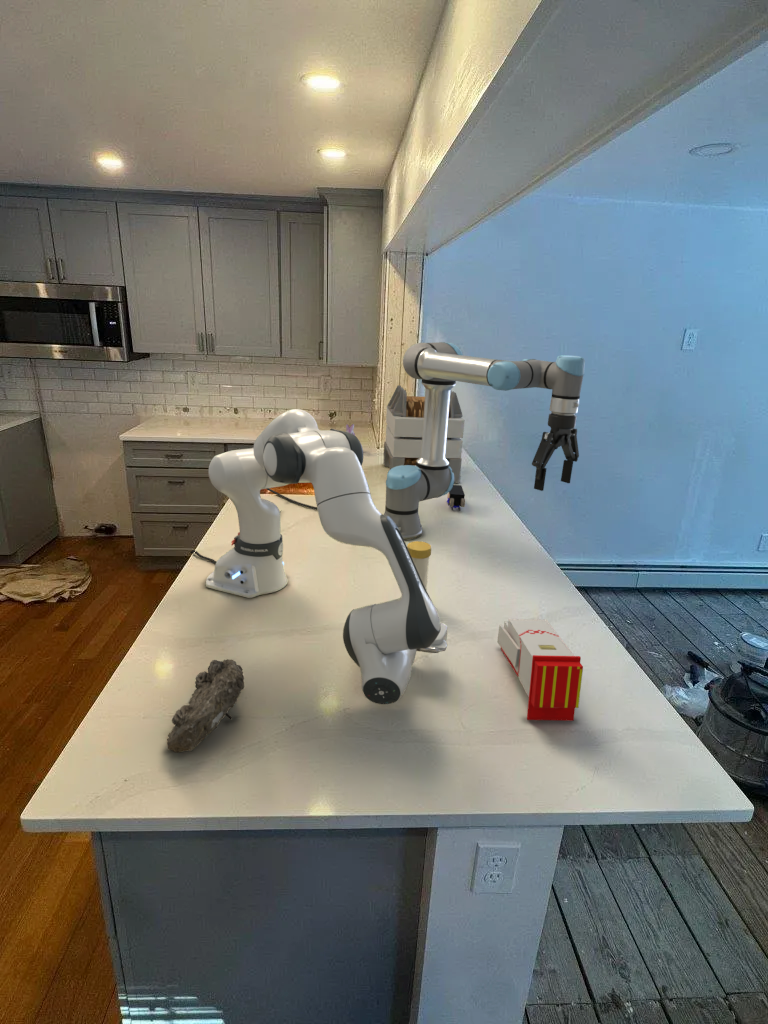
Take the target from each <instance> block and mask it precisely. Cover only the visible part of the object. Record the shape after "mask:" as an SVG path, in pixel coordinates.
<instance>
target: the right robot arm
mask: <svg viewBox="0 0 768 1024" xmlns="http://www.w3.org/2000/svg"><path fill="white" fill-rule="evenodd" d="M585 365H586V360H585V358H584V357H582V356H578V355H566V354H565V355H564V354H563V355H558V356H557V357H556V360H555V361H549V360H541V359H536V358H524V359H521V360H506V359H505V360H504V359H503V360H502V359H496V358H487V357H479V356H471V355H464V354H463V352H462V350H461V349H460V347H459V346H457V345H456V344H455V343H451V342H445V341H443V342H442V341H441V342H440V341H439V342H438V341H437V342H417V343H414V344H412V345H411V346H409V347H408V348H407V350H406V351H405V353H404V355H403V358H402V366H403V369H404V372H405V373H406V374H407V375H408V376H409V377H411V378H412V379H415V380H421V385H422V386H423V387H424V389H425V392H424V397H425V404H424V419H423V434H422V449H421V457H420V458H418V459H417V461H416V466H413V465H401V466H396V467H394V468H392V469H390V468H389V470H388V472H387V474H386V479H385V504H384V505H385V507H384V508H385V509H384V513H383V515H386V516H389V517H390V518H391V519H392V520H393V521H394V523H395V524H396V526H397V527H398V529H399V531H400V533H401V535H402V537H403V539H404V541H410V540H415V539H418V538H420V537H421V536H422V535H423V525H422V524H421V518H420V515H419V507H420V506H419V505H420V502H423V501H427V500H431V499H437V498H440V497H443V496H446V495H448V493H449V491H450V490H451V489H452V487H453V485H455V483H454V473H452V469H451V467H450V466H449V462H448V461H447V459H446V458H445V453H446V441H447V428H448V416H449V404H450V392H451V391H452V389H453V388H454V387H455V386H456V384H457V382H461V383H465V384H473V385H479V386H487V387H491V388H492V389H494V390H496V391H503V392H504V391H511V390H520V389H532V388H533V389H534V388H539V389H546V390H551V398H550V404H549V413H548V418H547V419H548V420H547V426H548V427H549V428H550V431H549V432H548V431H543V432H542V435H541V440H540V442H539V445H538V447H537V449H536V452H535V454H534V457H533V460H532V461H531V466H533V467H535V475H534V477H535V478H534V485H533V489H534V490H537V491H539V492H543V491H544V489H545V484H546V483H545V482H546V476H547V468H546V466H547V465H548V463H549V461H550V459H551V457H552V456H553V454H554V453H555V451H556V450H557V449H558V448H560V447H561V449H562V452H563V455H564V458H565V459H563V463H562V468H561V469H562V470H561V475H560V482H562V483H566V484H571V478H572V472H573V466H574V463H576V462H578V461H579V457H580V453H579V444H578V428H576V423H577V419H578V416H577V414H578V412H579V411H578V410H579V406H580V397H581V391H582V385H583V380H584V376H585ZM266 490H267V491H268V492H270V493H273V494H274V495H276V496H278V497H280V498H281V499H284V500H286V501H287V502H288V501H289V502H291V503H293V504H295V505H298V506H301V507H305V508H308V509H312V510H316V511H318V509H317V506H313V505H309V504H306V503H302V502H299V501H297V500H295V499H292V498H289V497H287V496H285V495H283V494H281V493H279V492H277V491H276V490H273V489H272V488H267V489H266Z"/></svg>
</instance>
